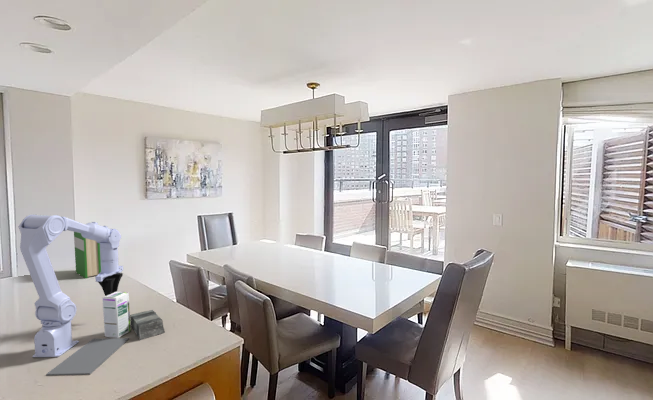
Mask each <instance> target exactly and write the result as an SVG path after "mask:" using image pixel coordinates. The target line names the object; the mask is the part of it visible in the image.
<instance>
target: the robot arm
mask: <svg viewBox="0 0 653 400" xmlns="http://www.w3.org/2000/svg"><path fill="white" fill-rule="evenodd" d="M18 229H19V232H20V244H19V248H20V252H21V255H22V257H23V259H24V262H25V264H26V267H27V270H28V272H29V275H30V277H31V280H32V283H33V285H34V287H35V290H36V293H37V295H38V297H39V298H38V299H36V300H35V302H34V306H35V312H34V315H35V318H36V319H37V320H38V321H40V324H41V325H42V326H41V328H40V329H39V331H37V332H36V333H35V335H34V338H33V340H34V354H33V355H32V358H51V357H52V358H57V357H60V356H62V355H64V353H66V352H67V351H69V350H71V349H72V348H73V347H74V346H75V345H77V344H78V343H79V342H80V340H73V334H72V333H73V332H72V331H73V330H72V321H73V319H74V318H75V316H76V314H77V306H76V305H77V304H76V303H74V302H73V301H72V300H71V297H70V296H69V295H67V294H66V293H64V292H63V291H62V289H61V286H60V284H59V281H58V278H57V276H56V273H55V270H54V266H53V265H52V262H51V259H50V256H49V254H48V250H47V247H48V246H49V245H50V244H51V243H53V242H54V241H55V240H56V239H57V238H58V237H59V236H60V235H61V234H62V233H63V232H66V231H70V232H73V233H74V232H78V233H81V235H82V237H84V238H87V239H90V240H94V241H96V242H97V243H100V259H101V272H100V273H99V274H98V275H95V278H94V279H95V282H96V283H98V284H99V285H100V287H101V288H102V291H103V293H104V297H105V296H107V295H110V294H112V293H114V292H118V290H119V285H120V282H121V279H122V277H123V273H122V272H123V271H124V265H119V249H118V248H119V246H120V242H121V239H122V234H121V232H120V231H119V230H118V229H116V228H109V226H107V225H99V223H98V222H96V221H91V222H87V223H82V222H80V221H77V220H74V219H72V218H69V217H67V216H62V215H61V216H60V215H58V214H53V215H44V214H43V215H41V214H29V215H26V216H25V217H24V218H23V219H22V221H21V222H20V224H19V225H18Z"/></svg>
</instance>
